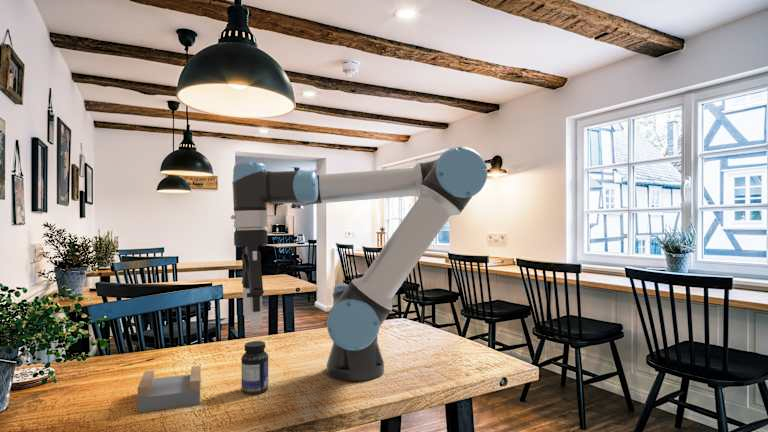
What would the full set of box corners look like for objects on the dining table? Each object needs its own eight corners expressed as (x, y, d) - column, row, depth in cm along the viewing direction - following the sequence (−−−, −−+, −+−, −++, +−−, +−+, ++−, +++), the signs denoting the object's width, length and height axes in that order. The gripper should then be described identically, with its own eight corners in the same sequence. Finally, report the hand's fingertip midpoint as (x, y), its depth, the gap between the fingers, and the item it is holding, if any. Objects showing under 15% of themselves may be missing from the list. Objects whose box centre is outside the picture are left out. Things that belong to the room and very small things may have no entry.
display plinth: (200, 385, 109) (200, 364, 109) (199, 404, 98) (199, 381, 98) (144, 392, 105) (145, 370, 105) (137, 412, 94) (137, 388, 94)
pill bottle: (258, 383, 111) (258, 338, 111) (273, 389, 107) (273, 342, 107) (236, 391, 106) (236, 343, 106) (251, 397, 102) (251, 348, 102)
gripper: (230, 229, 116) (231, 312, 116) (238, 230, 93) (240, 333, 93) (260, 228, 119) (261, 309, 119) (275, 229, 96) (277, 329, 95)
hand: (252, 320), depth 106 cm, fingers open, 13 cm apart
